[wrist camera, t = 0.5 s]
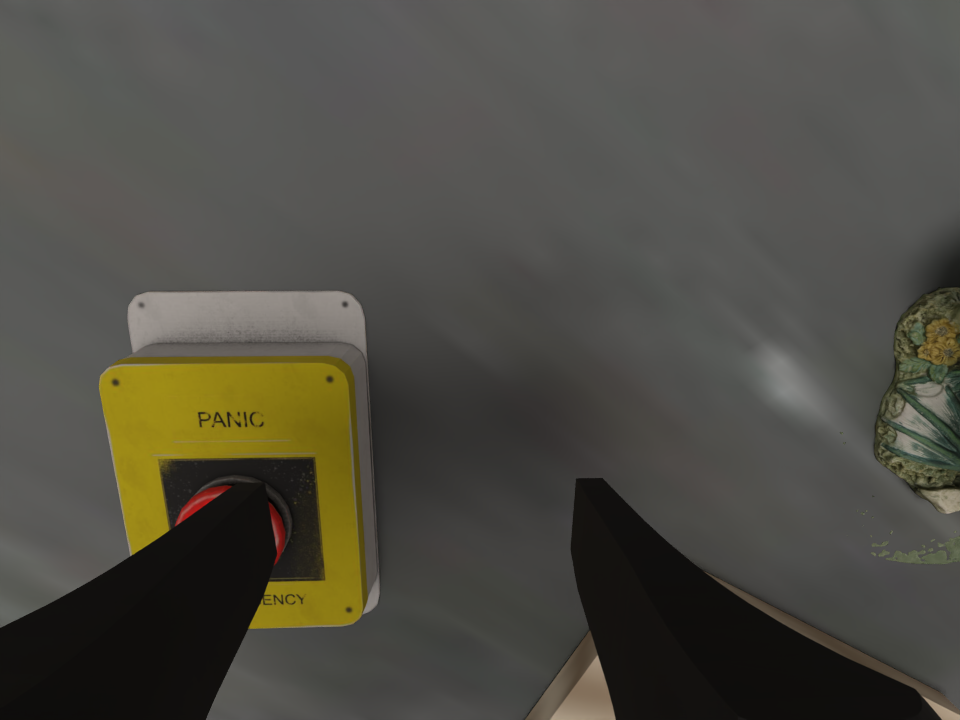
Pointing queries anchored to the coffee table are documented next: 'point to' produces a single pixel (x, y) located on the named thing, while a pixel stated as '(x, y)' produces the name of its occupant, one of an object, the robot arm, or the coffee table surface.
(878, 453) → the frog figurine
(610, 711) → the control panel
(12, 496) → the coffee table surface
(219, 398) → the emergency button
